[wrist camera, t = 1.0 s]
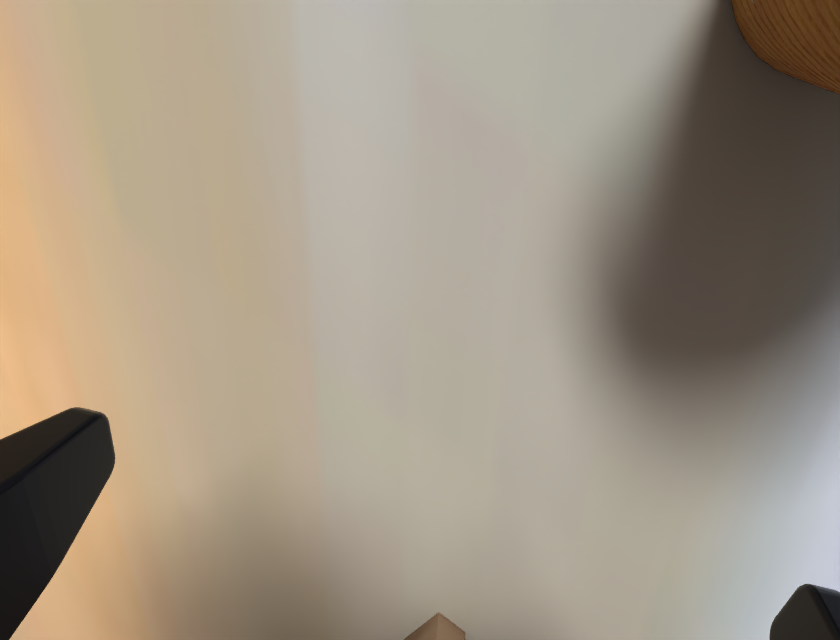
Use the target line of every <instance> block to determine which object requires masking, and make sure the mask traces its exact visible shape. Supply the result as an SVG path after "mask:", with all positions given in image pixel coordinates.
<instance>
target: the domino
mask: <svg viewBox="0 0 840 640" xmlns="http://www.w3.org/2000/svg"><path fill="white" fill-rule="evenodd" d="M404 640H465V632H464V631H463V630H462V629H460V628H459V627H458V626H456V625H455V624H454V623H452V622H451V621H450V620H448V619H447V618H446V617H444V616H443V615H442V614H440V613H438V614H436V615H435V616H434V617H432V618H431V619H430V620H429V621H427V622H426V623H425V624H423V625H422V626H421V627H420V628H418V629H417V630H416V631H414V632H413V633H412V634H410V635H409V636H408V637H407V638H405V639H404Z"/></svg>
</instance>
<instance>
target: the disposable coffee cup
mask: <svg viewBox="0 0 840 640" xmlns="http://www.w3.org/2000/svg"><path fill="white" fill-rule="evenodd" d="M731 1H732V6H733V10H734V15H735V19H736V22H737V24H738V26H739V29H740V31H741V33H742V35H743V37H744V40H745V41H746V42H747V43H748V45H749V46H750V47H751V49H752V50H753V51H754V52H755V54H756V55H757V56H758V57H759V58H761V59H762V60H763V61H765V62H766V63H767V64H769V65H770V66H771V67H773V68H774V69H775V70H777V71H780V72H782V73H784V74H787V75H789V76H792V77H794V78H797V79H800V80H803V81H805V82H808V83H811V84H814V85H816V86H819V87H821V88H824V89H827V90H829V91H832V92H835V93H837V94H840V0H731Z"/></svg>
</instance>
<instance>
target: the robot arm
mask: <svg viewBox="0 0 840 640" xmlns="http://www.w3.org/2000/svg"><path fill="white" fill-rule="evenodd" d="M114 464H115V452H114V447H113V441H112V436H111V431H110V425H109V421H108V418H107V417H106V416H105V414H103V413H101V412H97V411H93V410H89V409H85V408H80V407H75V408H71V409H68V410H65V411H63V412H61V413H59V414H56V415H54V416H52V417H50V418H47V419H45V420H43V421H41V422H38V423H36V424H34V425H32V426H30V427H27V428H25V429H23V430H21V431H18V432H16V433H14V434H12V435H9V436H7V437H5V438H3V439H0V640H9V639H10V638H11V636H12V635H13V633H14V632H15V630H16V629H17V628H18V626H19V625H20V623H21V622H22V621H23V619H24V618H25V616H26V615H27V613H28V612H29V611H30V609H31V608H32V606H33V605H34V603H35V602H36V601H37V599H38V598H39V596H40V595H41V593H42V592H43V590H44V589H45V587H46V586H47V584H48V583H49V581H50V580H51V579H52V577H53V575H54V574H55V572H56V570H57V569H58V567H59V565H60V564H61V562H62V560H63V559H64V557H65V555H66V553H67V552H68V550H69V548H70V546H71V545H72V543H73V541H74V539H75V537H76V536H77V534H78V532H79V530H80V529H81V527H82V525H83V523H84V521H85V520H86V518H87V516H88V514H89V513H90V511H91V509H92V507H93V505H94V504H95V502H96V500H97V498H98V497H99V495H100V493H101V491H102V489H103V488H104V486H105V484H106V482H107V481H108V479H109V477H110V475H111V473H112V471H113V468H114ZM770 640H840V592H838V591H836V590H832V589H828V588H824V587H820V586H816V585H811V584H804V585H802V586H800V587H798V588H797V590H796V591H795V592H794V594H793V595H792V596H791V597H790V599H789V600H788V601H787V603H786V604H785V605H784V607H783V608H782V609H781V611H780V612H779V613H778V615H777V616H776V617H775V619H774V621H773V623H772V625H771V629H770Z"/></svg>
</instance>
